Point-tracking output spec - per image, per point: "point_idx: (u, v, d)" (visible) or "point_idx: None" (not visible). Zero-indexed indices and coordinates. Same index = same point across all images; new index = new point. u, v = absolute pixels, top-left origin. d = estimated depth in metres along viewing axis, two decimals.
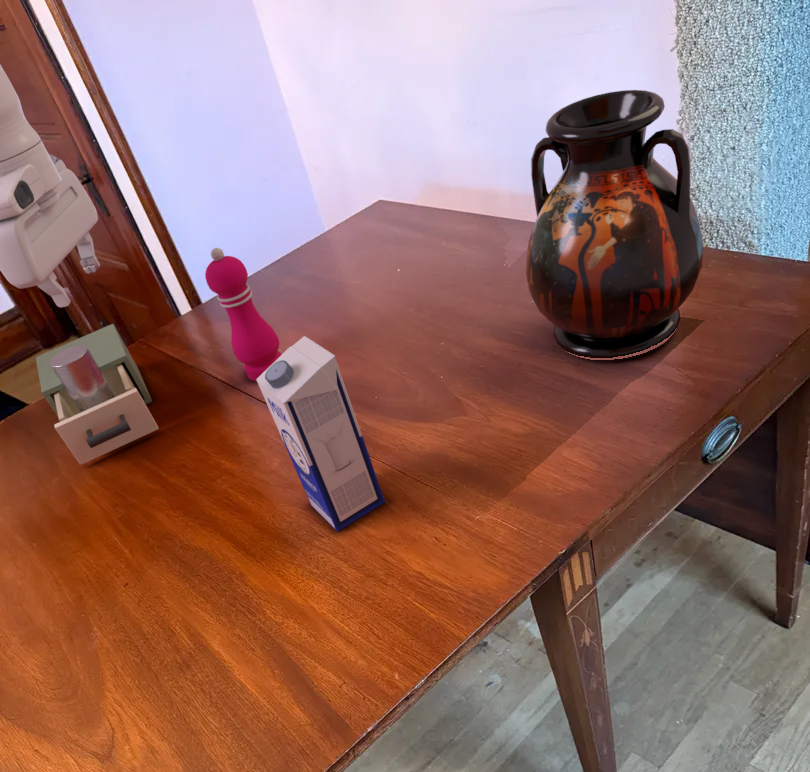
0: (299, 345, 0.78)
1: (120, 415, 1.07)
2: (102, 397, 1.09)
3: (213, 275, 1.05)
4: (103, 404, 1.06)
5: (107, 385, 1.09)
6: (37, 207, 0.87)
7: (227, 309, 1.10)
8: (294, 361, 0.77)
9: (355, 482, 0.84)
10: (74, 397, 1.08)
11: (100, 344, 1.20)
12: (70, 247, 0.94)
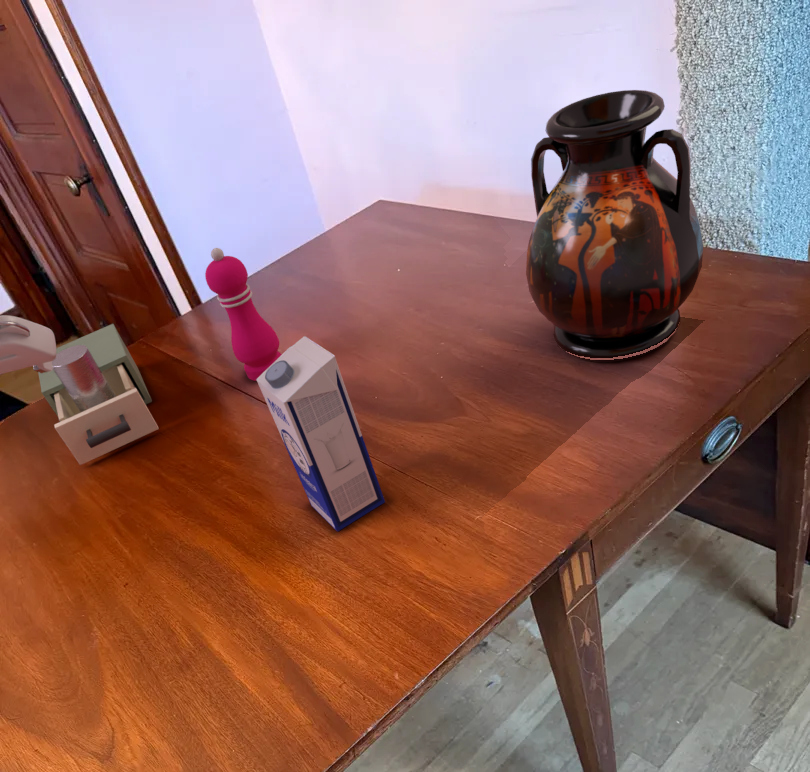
0: (299, 345, 0.78)
1: (120, 415, 1.07)
2: (102, 397, 1.09)
3: (213, 275, 1.05)
4: (103, 404, 1.06)
5: (107, 385, 1.09)
6: None
7: (227, 309, 1.10)
8: (294, 361, 0.77)
9: (355, 482, 0.84)
10: (74, 397, 1.08)
11: (100, 344, 1.20)
12: None
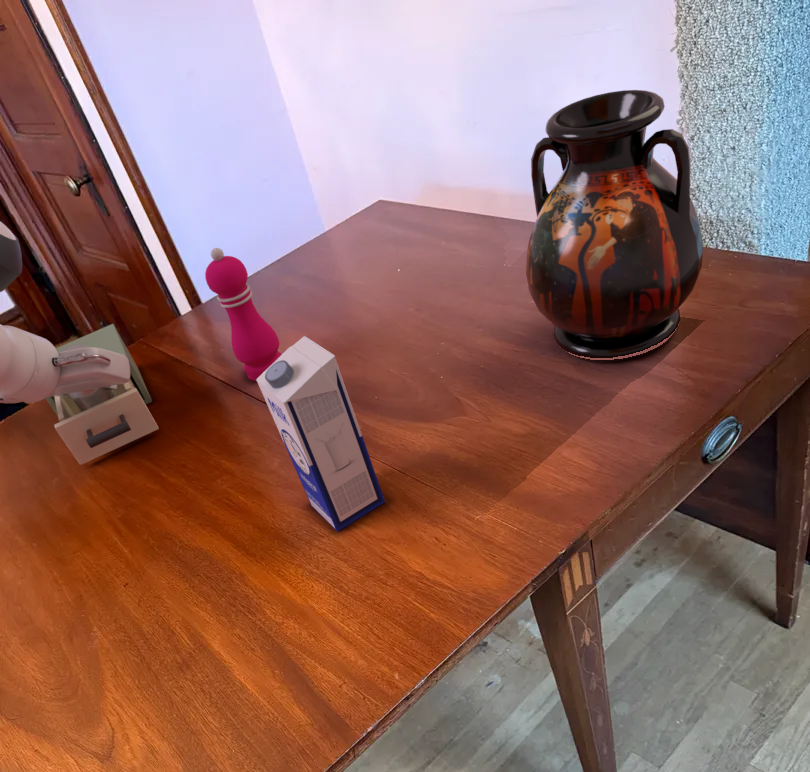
0: (299, 345, 0.78)
1: (120, 415, 1.07)
2: (102, 397, 1.09)
3: (212, 275, 1.05)
4: (103, 404, 1.06)
5: None
6: None
7: (227, 309, 1.10)
8: (294, 361, 0.77)
9: (355, 482, 0.84)
10: (74, 397, 1.08)
11: (100, 344, 1.20)
12: (67, 393, 1.05)
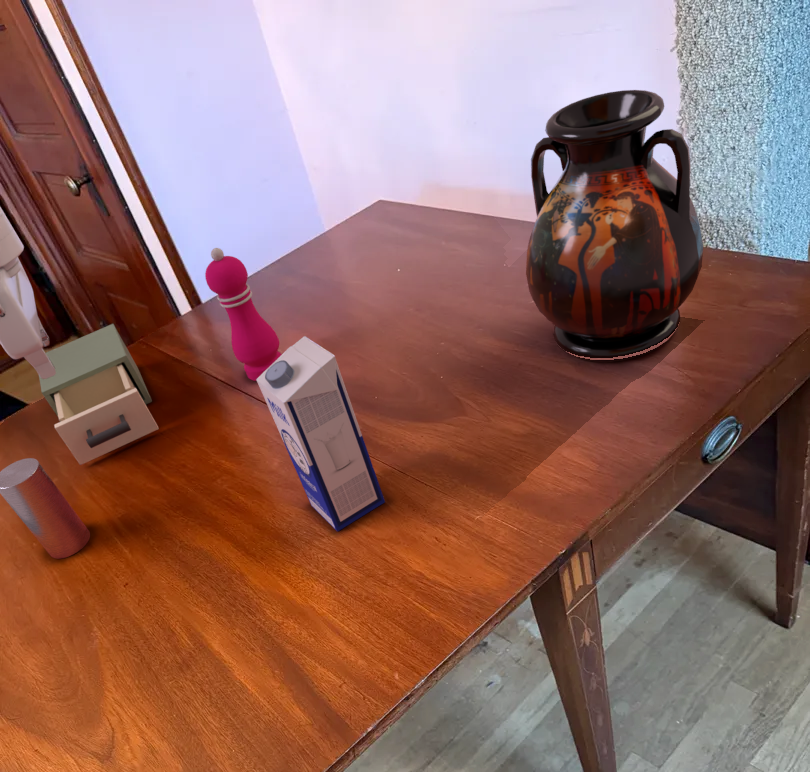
0: (299, 345, 0.78)
1: (120, 415, 1.07)
2: (57, 519, 0.92)
3: (213, 275, 1.05)
4: (103, 404, 1.06)
5: (64, 503, 0.93)
6: None
7: (227, 309, 1.10)
8: (294, 361, 0.77)
9: (355, 482, 0.84)
10: (23, 519, 0.91)
11: (100, 344, 1.20)
12: None
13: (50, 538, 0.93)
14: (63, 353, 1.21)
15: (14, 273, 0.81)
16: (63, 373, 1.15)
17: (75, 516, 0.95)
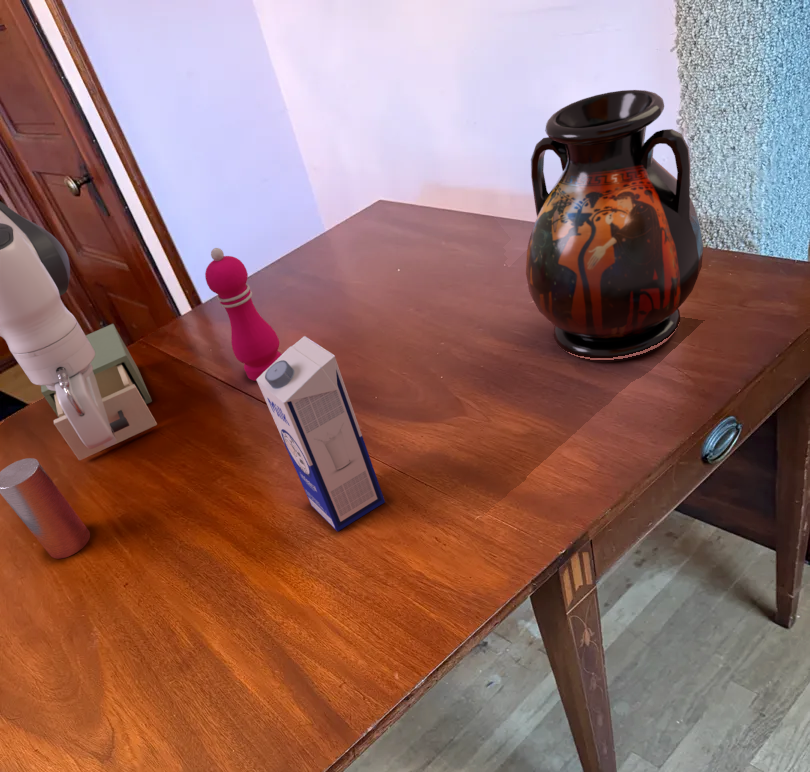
0: (299, 345, 0.78)
1: (119, 411, 1.09)
2: (57, 519, 0.92)
3: (212, 275, 1.05)
4: (102, 400, 1.07)
5: (64, 503, 0.93)
6: None
7: (227, 309, 1.10)
8: (294, 361, 0.77)
9: (355, 482, 0.84)
10: (23, 519, 0.91)
11: (100, 344, 1.20)
12: None
13: (50, 538, 0.93)
14: None
15: (87, 375, 0.96)
16: None
17: (75, 516, 0.95)
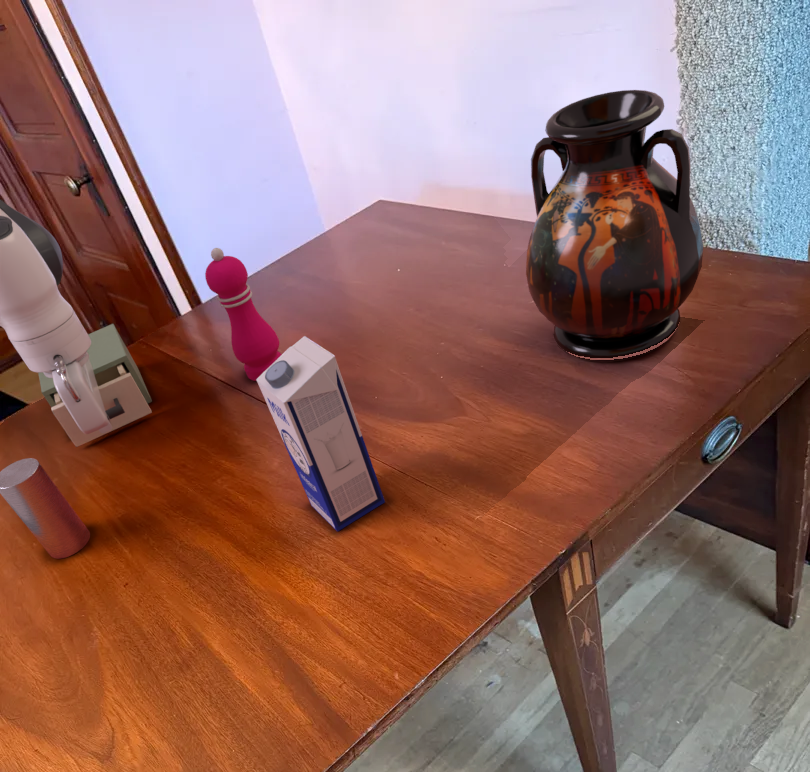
0: (299, 345, 0.78)
1: (114, 399, 1.12)
2: (57, 519, 0.92)
3: (212, 275, 1.05)
4: None
5: (64, 503, 0.93)
6: None
7: (227, 309, 1.10)
8: (294, 361, 0.77)
9: (355, 482, 0.84)
10: (23, 519, 0.91)
11: (100, 344, 1.20)
12: None
13: (50, 538, 0.93)
14: None
15: (84, 362, 1.00)
16: None
17: (75, 516, 0.95)
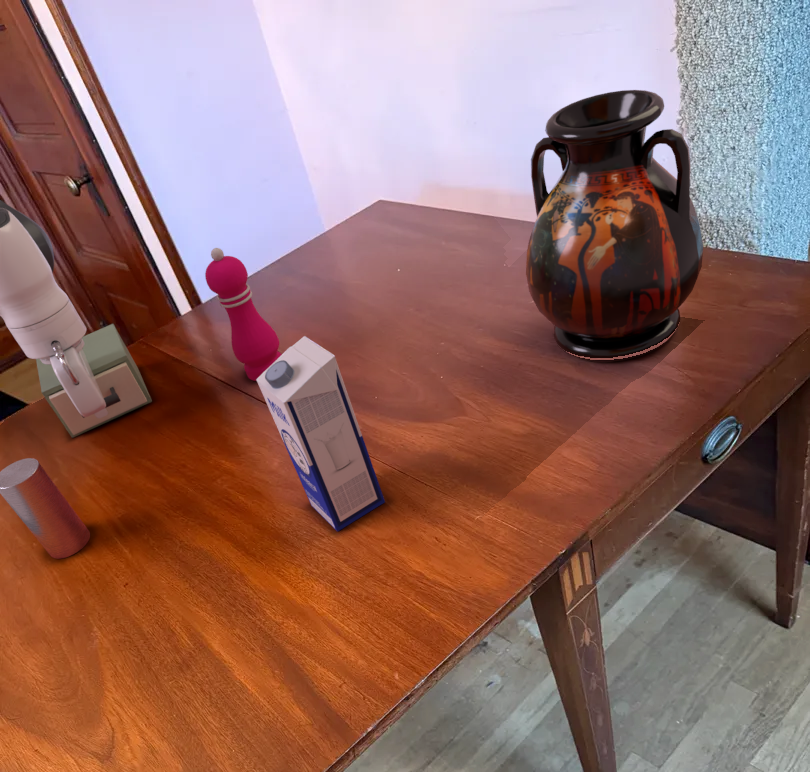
0: (299, 345, 0.78)
1: (111, 388, 1.15)
2: (57, 519, 0.92)
3: (213, 275, 1.05)
4: (95, 377, 1.14)
5: (64, 503, 0.93)
6: None
7: (227, 309, 1.10)
8: (294, 361, 0.77)
9: (355, 482, 0.84)
10: (23, 519, 0.91)
11: (100, 344, 1.20)
12: None
13: (50, 538, 0.93)
14: None
15: (80, 349, 1.03)
16: None
17: (75, 516, 0.95)
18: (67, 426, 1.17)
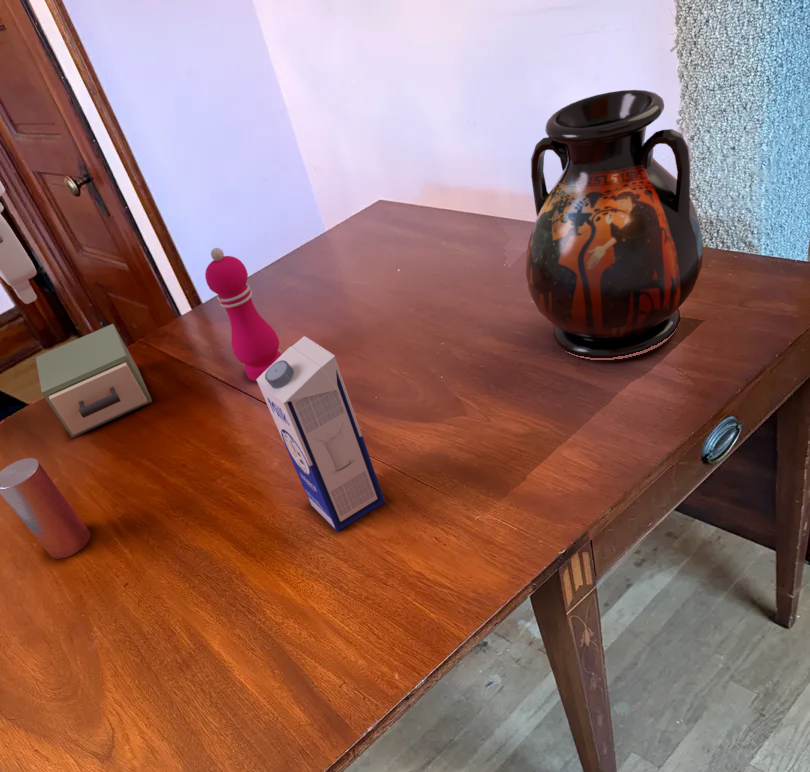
0: (299, 345, 0.78)
1: (111, 388, 1.15)
2: (57, 519, 0.92)
3: (213, 275, 1.05)
4: (95, 377, 1.14)
5: (64, 503, 0.93)
6: None
7: (227, 309, 1.10)
8: (294, 361, 0.77)
9: (355, 482, 0.84)
10: (23, 519, 0.91)
11: (100, 344, 1.20)
12: None
13: (50, 538, 0.93)
14: (63, 353, 1.21)
15: None
16: (63, 373, 1.15)
17: (75, 516, 0.95)
18: (67, 426, 1.17)
